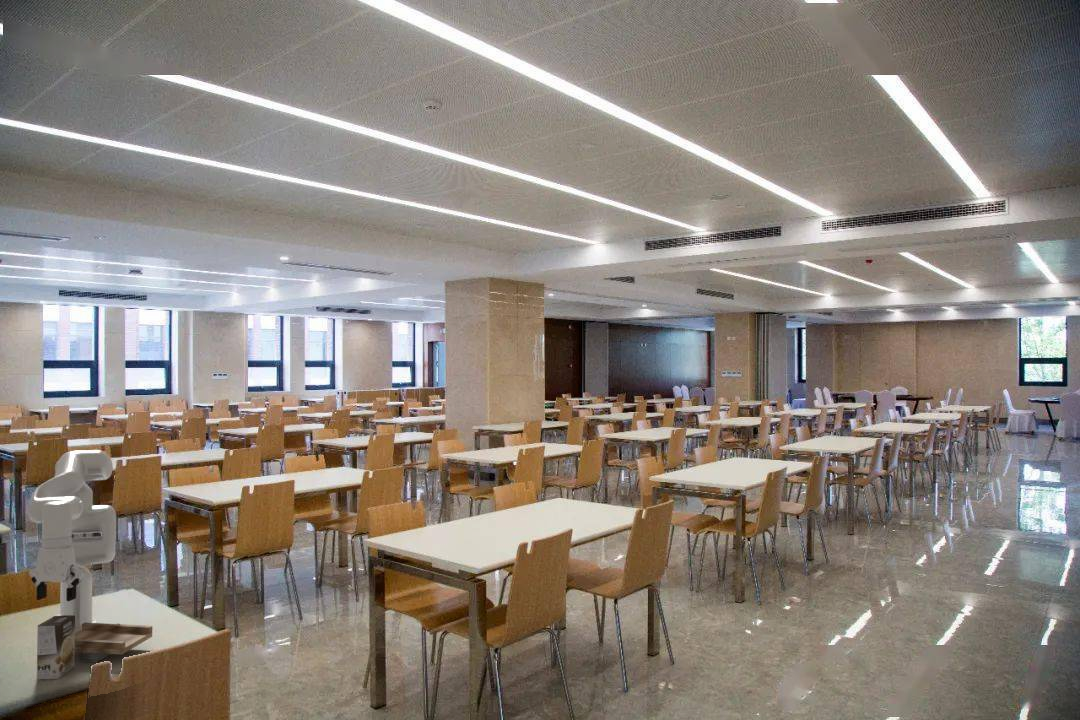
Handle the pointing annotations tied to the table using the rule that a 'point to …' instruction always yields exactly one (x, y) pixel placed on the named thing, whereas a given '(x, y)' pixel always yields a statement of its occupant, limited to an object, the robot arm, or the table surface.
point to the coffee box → (55, 647)
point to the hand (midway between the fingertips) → (56, 599)
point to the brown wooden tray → (109, 639)
